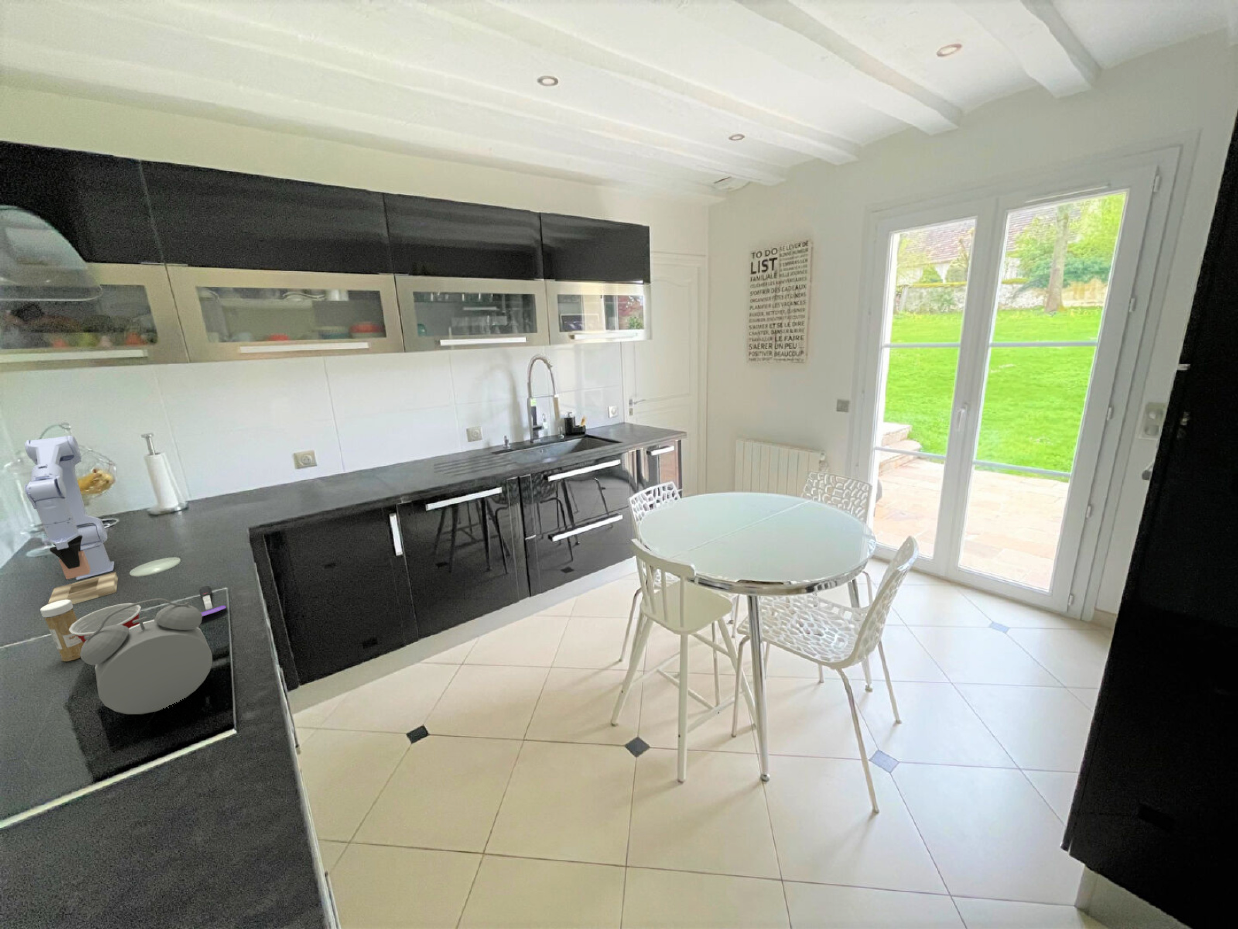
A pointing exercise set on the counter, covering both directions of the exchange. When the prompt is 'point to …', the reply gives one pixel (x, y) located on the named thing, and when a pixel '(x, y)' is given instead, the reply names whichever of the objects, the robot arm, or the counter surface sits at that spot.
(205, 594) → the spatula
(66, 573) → the terracotta block
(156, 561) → the sage coaster
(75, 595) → the maple pocket holder
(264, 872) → the counter surface
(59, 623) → the sprinkles bottle
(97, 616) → the plastic cup
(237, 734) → the counter surface
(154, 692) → the alarm clock
